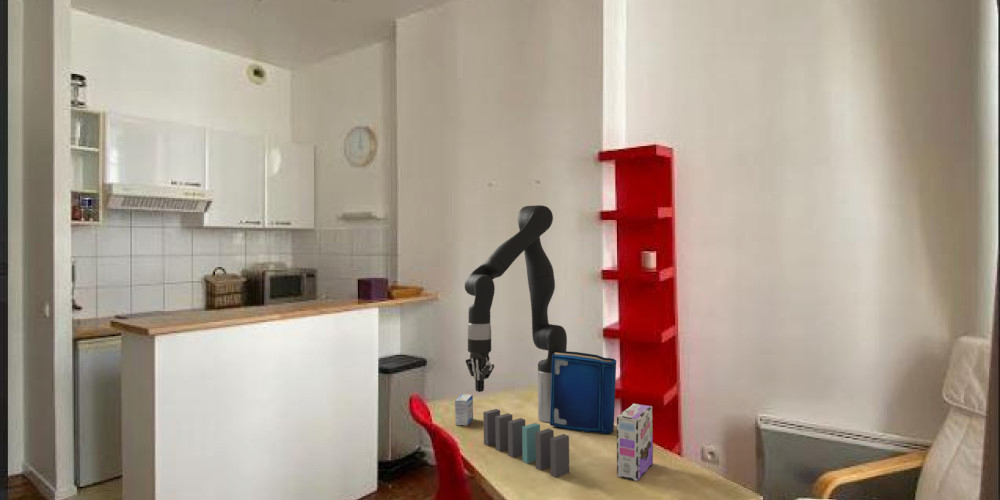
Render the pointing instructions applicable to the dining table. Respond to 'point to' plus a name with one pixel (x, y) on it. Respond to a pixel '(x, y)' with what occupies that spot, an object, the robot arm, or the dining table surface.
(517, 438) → the domino
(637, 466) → the candy box
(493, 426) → the domino
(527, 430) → the domino
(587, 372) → the book
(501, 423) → the domino
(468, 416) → the medicine box
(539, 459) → the domino
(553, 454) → the domino
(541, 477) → the dining table surface
